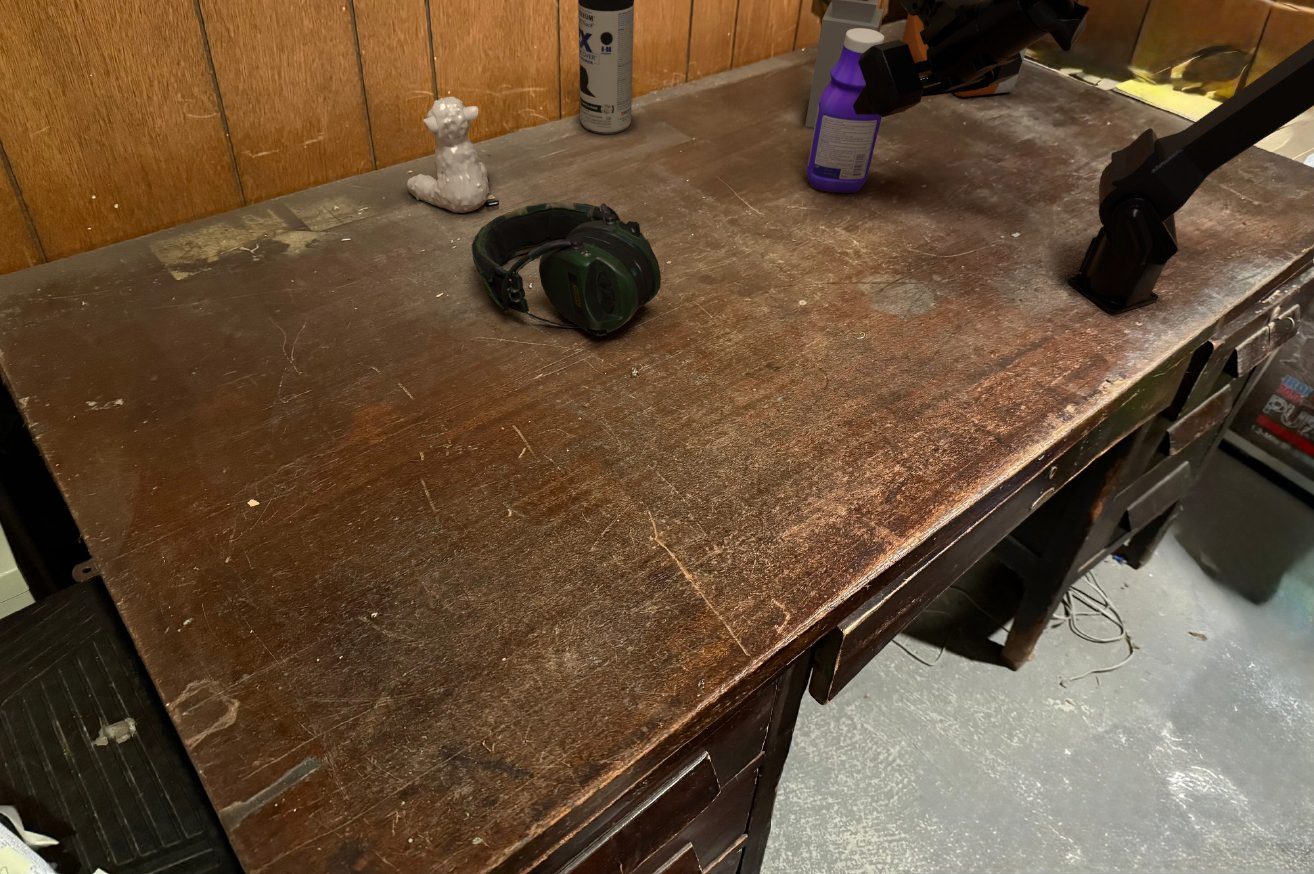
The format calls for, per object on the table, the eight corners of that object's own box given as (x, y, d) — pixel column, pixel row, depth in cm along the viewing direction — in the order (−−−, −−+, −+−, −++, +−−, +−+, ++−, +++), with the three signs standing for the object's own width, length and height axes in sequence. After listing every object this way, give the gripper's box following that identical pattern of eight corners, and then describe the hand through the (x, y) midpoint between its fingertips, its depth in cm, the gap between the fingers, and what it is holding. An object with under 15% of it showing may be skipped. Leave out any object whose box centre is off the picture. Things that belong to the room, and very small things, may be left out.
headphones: (703, 231, 86) (541, 201, 95) (642, 178, 74) (463, 150, 83) (663, 363, 86) (504, 320, 95) (595, 331, 74) (421, 286, 83)
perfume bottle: (805, 126, 117) (828, -20, 105) (813, 106, 122) (837, -37, 109) (856, 134, 116) (885, -13, 103) (862, 114, 121) (892, -30, 108)
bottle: (864, 175, 108) (896, 27, 96) (867, 198, 104) (901, 46, 92) (804, 170, 108) (828, 22, 96) (805, 193, 104) (830, 41, 92)
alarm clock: (897, 52, 137) (930, -99, 123) (946, 48, 139) (985, -101, 125) (960, 101, 125) (1006, -60, 110) (1014, 96, 127) (1065, -64, 113)
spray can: (572, 117, 117) (567, -51, 103) (620, 109, 119) (621, -56, 105) (591, 138, 112) (589, -33, 98) (640, 130, 114) (644, -39, 101)
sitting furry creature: (483, 173, 105) (472, 71, 96) (516, 206, 100) (507, 101, 91) (407, 192, 101) (388, 88, 92) (436, 227, 96) (420, 120, 87)
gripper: (1037, -72, 84) (922, 14, 98) (895, -46, 76) (793, 43, 90) (1075, 41, 85) (956, 110, 99) (940, 79, 77) (831, 148, 91)
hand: (886, 101), depth 94 cm, fingers open, 9 cm apart
